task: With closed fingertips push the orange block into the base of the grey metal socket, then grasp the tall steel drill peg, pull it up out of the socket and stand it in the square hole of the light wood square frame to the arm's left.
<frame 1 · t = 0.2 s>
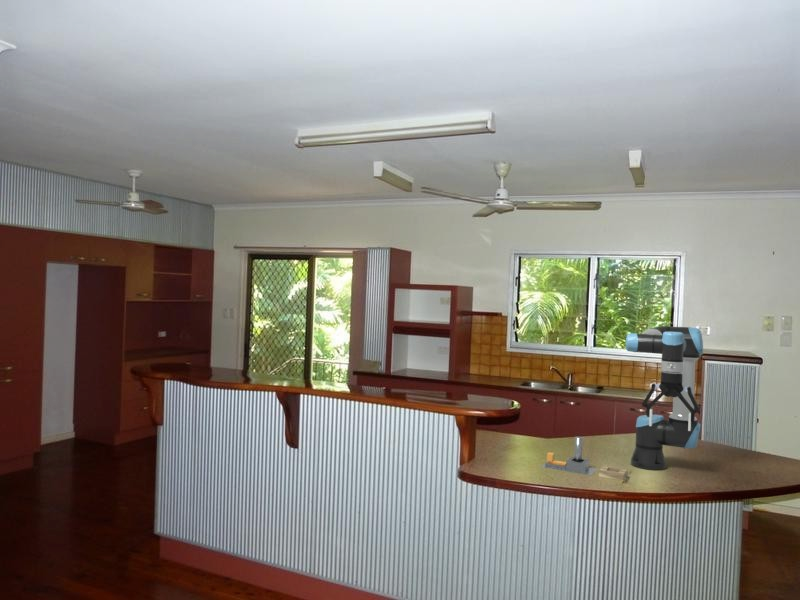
hand: (669, 428, 235), 28 cm above the countertop, fingers open, 13 cm apart
light wood square frame: (613, 478, 262), on the countertop
drill peg: (577, 469, 269), point 1 cm above the countertop, touching socket station
orange block: (557, 460, 274), point 4 cm above the countertop, slide at 0.0 cm
socket station: (570, 470, 271), on the countertop
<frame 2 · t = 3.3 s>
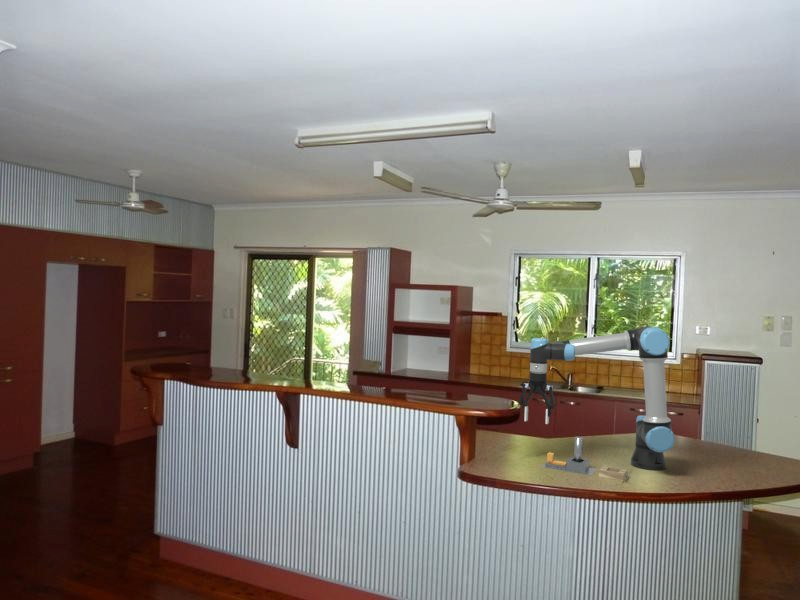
hand: (536, 422, 278), 19 cm above the countertop, fingers open, 9 cm apart
nothing on the countertop moved.
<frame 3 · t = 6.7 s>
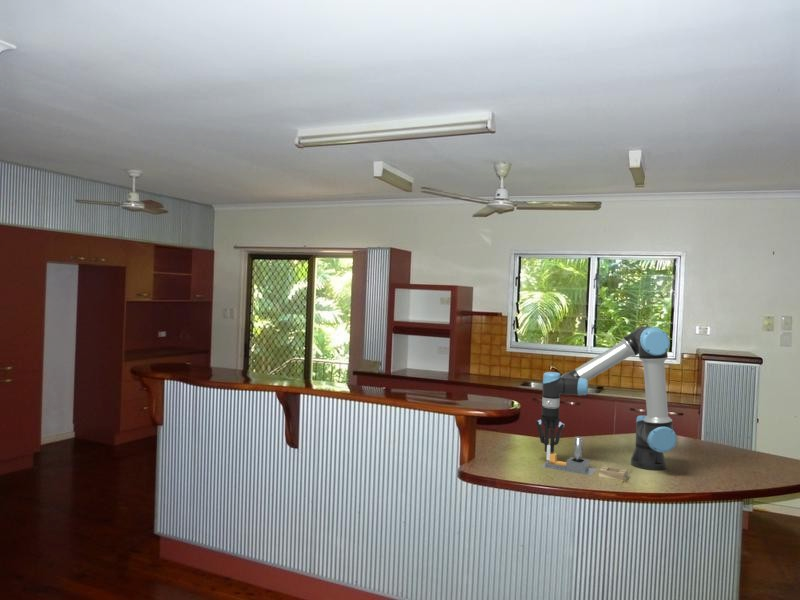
hand: (549, 459, 276), 3 cm above the countertop, fingers closed
orange block: (559, 460, 273), point 4 cm above the countertop, slide at 1.2 cm, touching gripper
everything else where it was.
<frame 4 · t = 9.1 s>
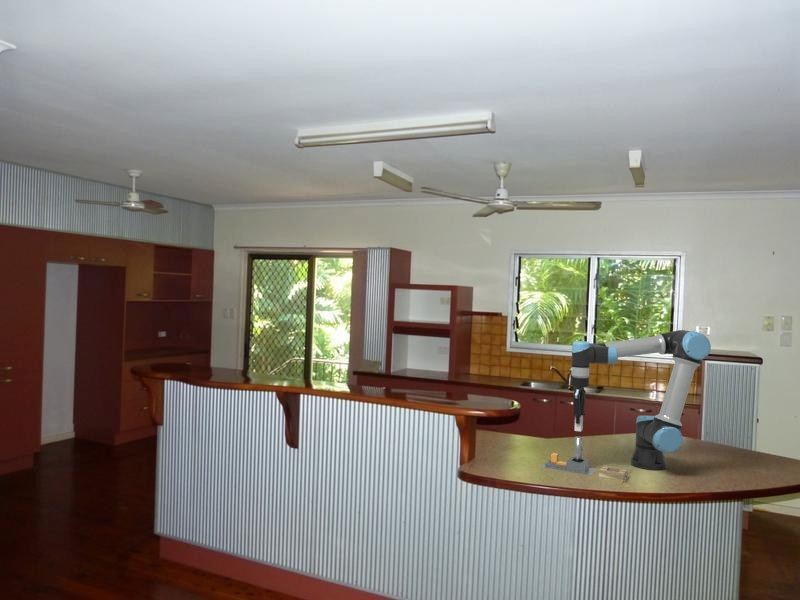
hand: (578, 430, 269), 18 cm above the countertop, fingers closed
orange block: (561, 460, 273), point 4 cm above the countertop, slide at 1.8 cm
everything else where it was.
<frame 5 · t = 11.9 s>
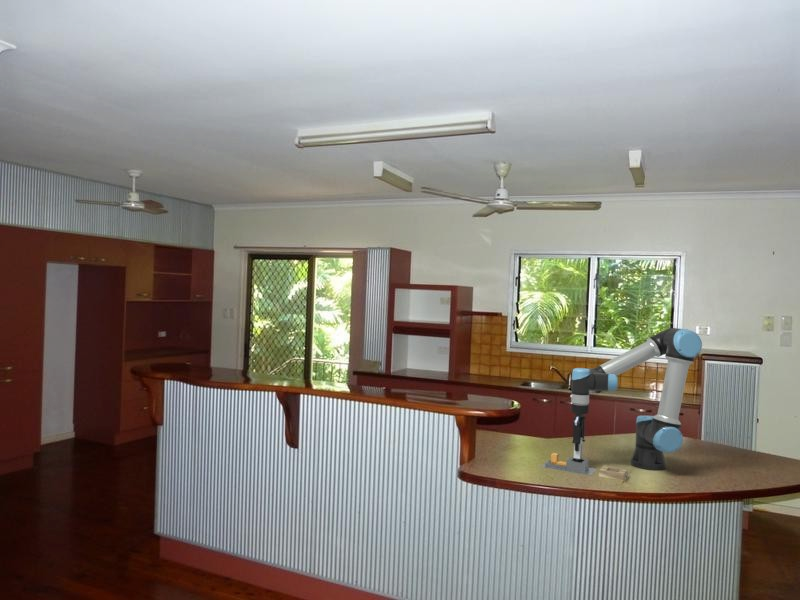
hand: (578, 457, 269), 7 cm above the countertop, fingers closed on drill peg, 3 cm apart
drill peg: (577, 469, 269), point 1 cm above the countertop, touching gripper, socket station
everything else where it was.
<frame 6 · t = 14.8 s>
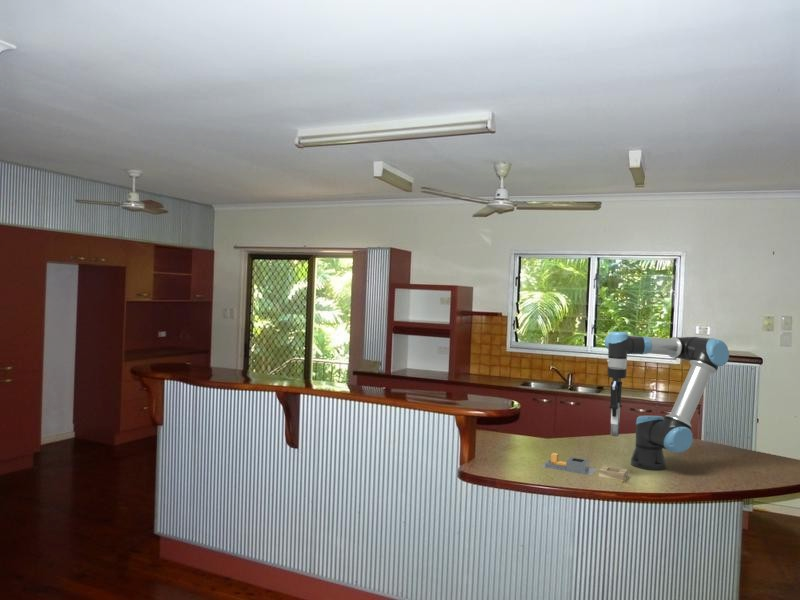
hand: (615, 423, 262), 23 cm above the countertop, fingers closed on drill peg, 3 cm apart
drill peg: (614, 435, 262), point 18 cm above the countertop, touching gripper
everything else where it was.
when the fingers open (7 cm above the countertop, at t = 17.8 s): drill peg drops 2 cm, resting in light wood square frame.
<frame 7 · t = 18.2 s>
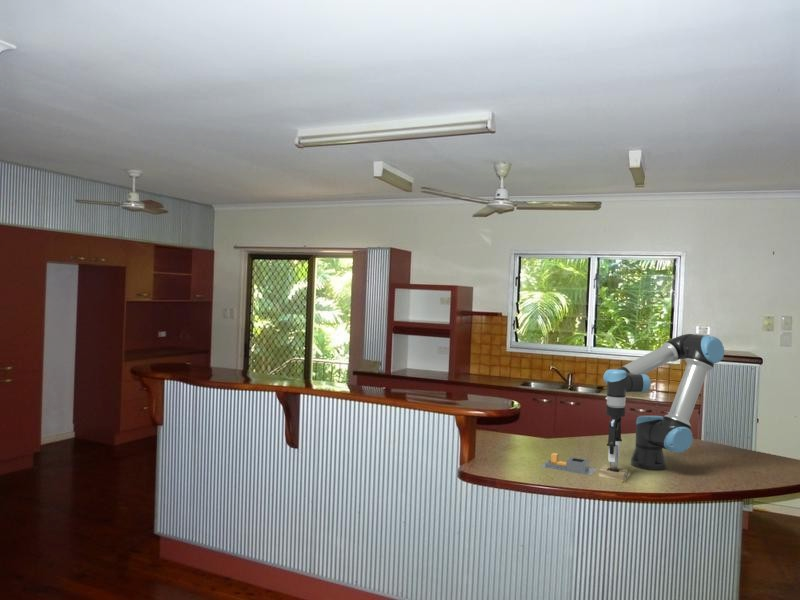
hand: (613, 458, 262), 8 cm above the countertop, fingers open, 9 cm apart
drill peg: (613, 478, 262), resting in light wood square frame
everything else where it was.
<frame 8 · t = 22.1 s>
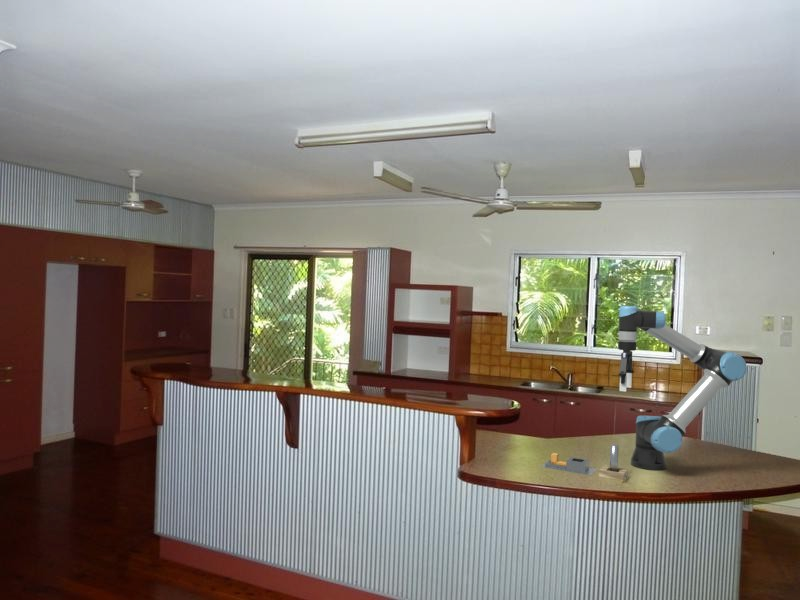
hand: (625, 389, 270), 37 cm above the countertop, fingers open, 13 cm apart
nothing on the countertop moved.
at the end: orange block slide at 1.8 cm; drill peg 0.1 cm off-centre on the light wood square frame, point 0.0 cm above the light wood square frame's base; drill peg tilted 0° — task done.
